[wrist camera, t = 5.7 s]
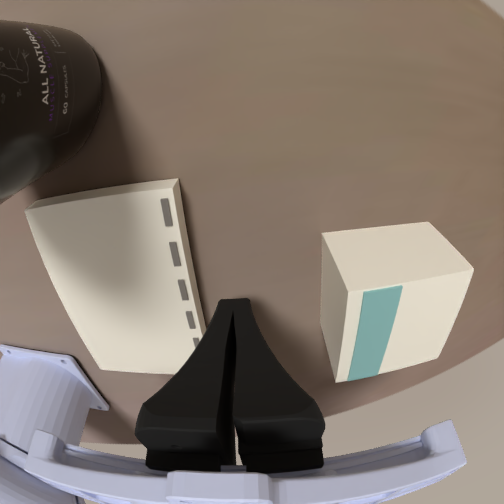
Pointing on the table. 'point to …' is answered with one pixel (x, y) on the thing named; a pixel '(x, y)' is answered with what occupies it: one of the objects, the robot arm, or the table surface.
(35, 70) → the supplement bottle
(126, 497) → the robot arm
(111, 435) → the table surface
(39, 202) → the ticket
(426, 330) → the teal striped cube
